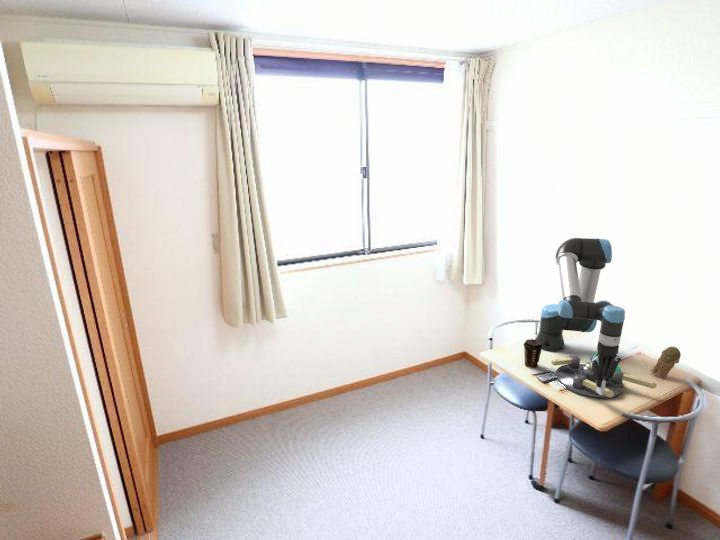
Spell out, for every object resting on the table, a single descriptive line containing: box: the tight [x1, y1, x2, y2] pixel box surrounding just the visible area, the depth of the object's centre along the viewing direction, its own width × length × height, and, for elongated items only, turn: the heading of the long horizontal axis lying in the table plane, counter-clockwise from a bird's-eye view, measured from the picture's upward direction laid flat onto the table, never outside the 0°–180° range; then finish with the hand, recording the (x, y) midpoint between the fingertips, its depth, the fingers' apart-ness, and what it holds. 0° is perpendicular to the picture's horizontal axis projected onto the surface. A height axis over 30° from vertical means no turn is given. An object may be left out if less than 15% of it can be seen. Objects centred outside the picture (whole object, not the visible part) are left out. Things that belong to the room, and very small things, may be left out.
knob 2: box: [610, 370, 657, 390], centre depth 186 cm, size 18×5×5 cm, turn 49°
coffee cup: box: [523, 339, 543, 369], centre depth 209 cm, size 9×8×13 cm
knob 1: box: [573, 374, 614, 398], centre depth 182 cm, size 18×5×5 cm, turn 30°
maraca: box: [551, 354, 581, 369], centre depth 203 cm, size 14×5×5 cm, turn 100°
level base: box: [555, 361, 625, 400], centre depth 193 cm, size 28×28×10 cm
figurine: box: [650, 346, 682, 378], centre depth 196 cm, size 8×8×15 cm
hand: (599, 393), depth 177 cm, fingers closed
